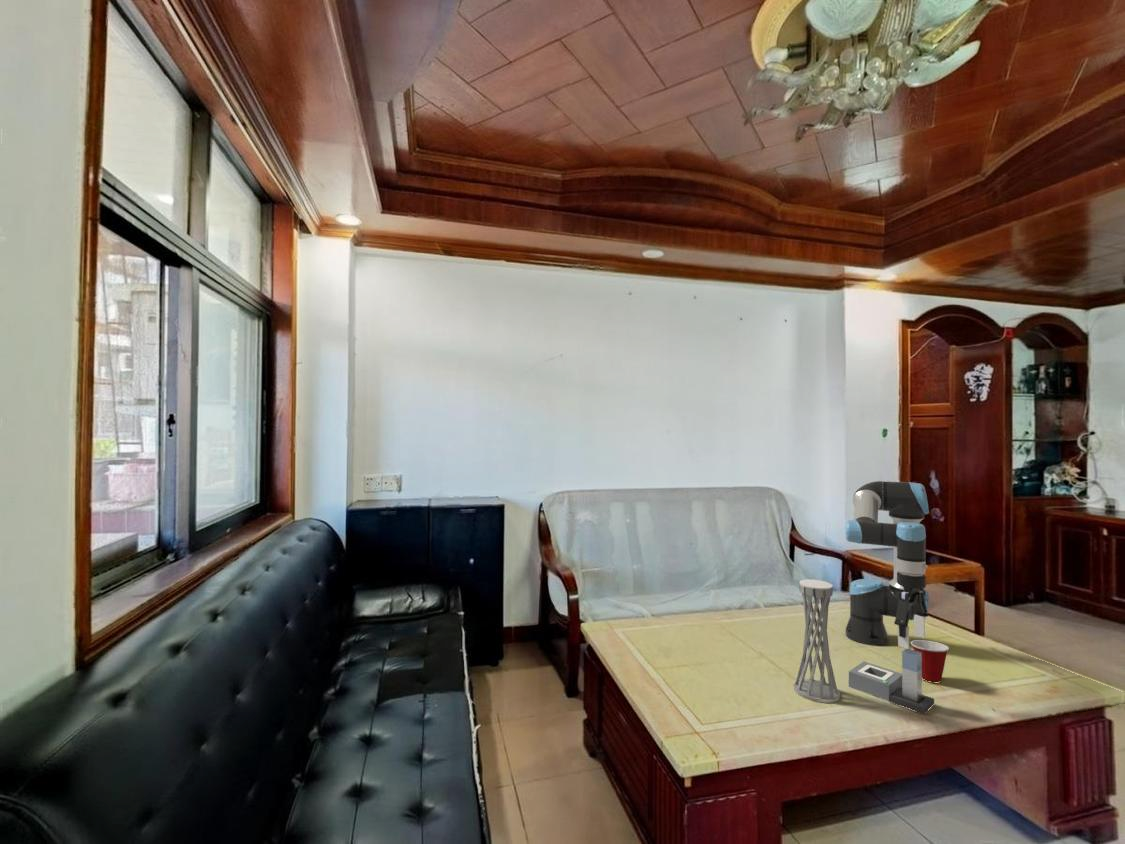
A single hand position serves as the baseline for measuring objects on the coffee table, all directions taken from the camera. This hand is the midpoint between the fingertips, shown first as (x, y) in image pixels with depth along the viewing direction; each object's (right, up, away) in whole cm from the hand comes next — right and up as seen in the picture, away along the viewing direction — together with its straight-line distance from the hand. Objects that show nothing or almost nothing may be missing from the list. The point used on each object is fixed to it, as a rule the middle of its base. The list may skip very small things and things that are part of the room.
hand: (911, 641), depth 161 cm
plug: (0, -18, 0) cm, 18 cm away
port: (-5, -19, +10) cm, 22 cm away
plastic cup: (+17, -20, +16) cm, 30 cm away
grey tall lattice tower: (-26, -20, +7) cm, 33 cm away
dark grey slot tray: (0, -19, 0) cm, 19 cm away
